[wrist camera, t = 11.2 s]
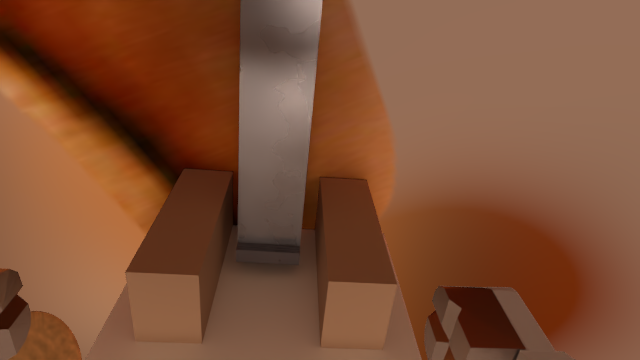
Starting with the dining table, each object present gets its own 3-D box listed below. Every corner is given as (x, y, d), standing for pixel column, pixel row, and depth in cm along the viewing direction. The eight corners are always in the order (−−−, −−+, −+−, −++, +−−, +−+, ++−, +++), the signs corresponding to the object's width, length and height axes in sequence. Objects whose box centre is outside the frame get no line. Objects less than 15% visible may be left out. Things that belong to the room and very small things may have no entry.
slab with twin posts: (155, 166, 27) (26, 348, 14) (393, 181, 28) (467, 362, 15) (162, 239, 29) (57, 449, 17) (380, 251, 30) (435, 455, 18)
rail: (253, -83, 21) (239, -96, 16) (324, -75, 21) (331, -85, 16) (246, 212, 28) (235, 261, 24) (299, 215, 29) (298, 265, 24)
